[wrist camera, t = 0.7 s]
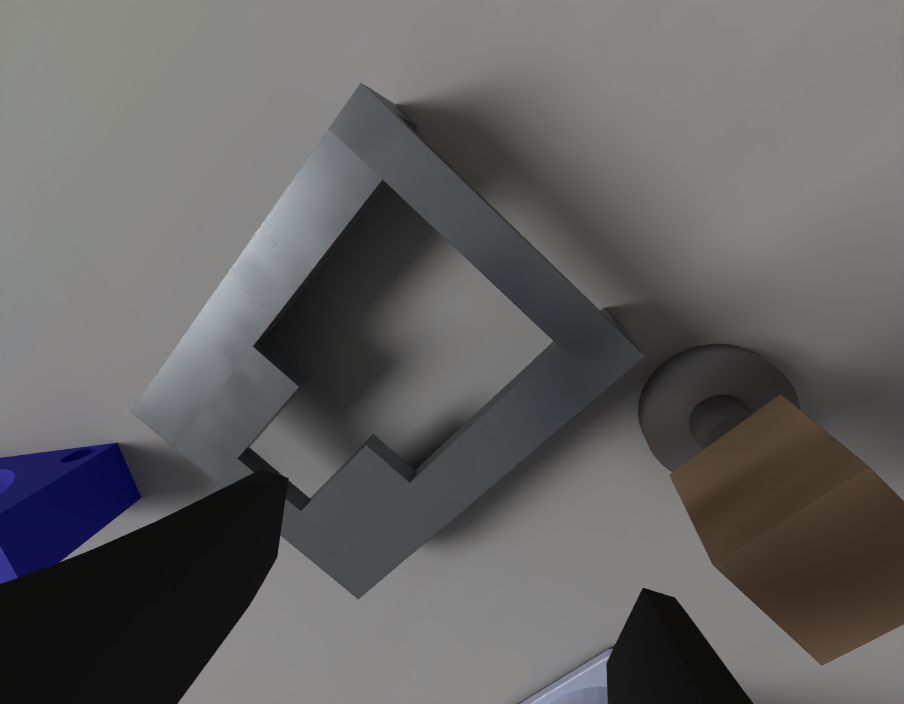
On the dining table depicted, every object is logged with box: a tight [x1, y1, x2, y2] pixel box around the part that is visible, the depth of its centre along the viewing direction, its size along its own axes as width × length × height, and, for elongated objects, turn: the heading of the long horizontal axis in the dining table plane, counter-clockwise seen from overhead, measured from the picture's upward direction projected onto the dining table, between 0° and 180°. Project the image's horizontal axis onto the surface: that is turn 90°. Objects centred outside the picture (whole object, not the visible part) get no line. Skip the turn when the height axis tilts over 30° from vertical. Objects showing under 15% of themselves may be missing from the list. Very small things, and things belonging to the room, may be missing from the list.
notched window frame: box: [131, 83, 645, 599], centre depth 18 cm, size 11×14×3 cm
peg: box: [638, 344, 904, 665], centre depth 14 cm, size 5×5×8 cm
